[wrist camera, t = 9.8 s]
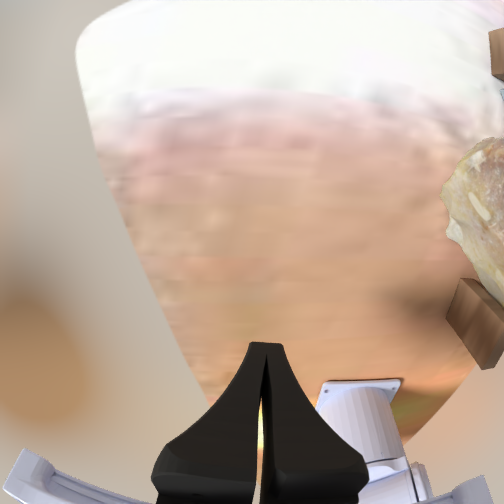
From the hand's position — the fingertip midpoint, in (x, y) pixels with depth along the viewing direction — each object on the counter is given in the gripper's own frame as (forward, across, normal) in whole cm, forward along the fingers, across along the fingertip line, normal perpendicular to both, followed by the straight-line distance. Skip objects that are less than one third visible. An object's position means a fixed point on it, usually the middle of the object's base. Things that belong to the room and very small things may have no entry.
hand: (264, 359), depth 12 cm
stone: (+4, -22, -7) cm, 23 cm away
